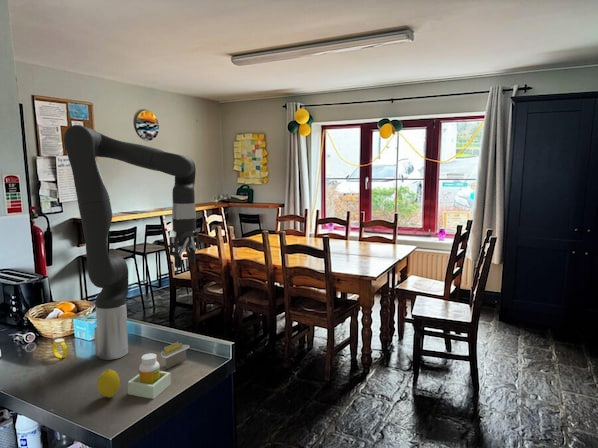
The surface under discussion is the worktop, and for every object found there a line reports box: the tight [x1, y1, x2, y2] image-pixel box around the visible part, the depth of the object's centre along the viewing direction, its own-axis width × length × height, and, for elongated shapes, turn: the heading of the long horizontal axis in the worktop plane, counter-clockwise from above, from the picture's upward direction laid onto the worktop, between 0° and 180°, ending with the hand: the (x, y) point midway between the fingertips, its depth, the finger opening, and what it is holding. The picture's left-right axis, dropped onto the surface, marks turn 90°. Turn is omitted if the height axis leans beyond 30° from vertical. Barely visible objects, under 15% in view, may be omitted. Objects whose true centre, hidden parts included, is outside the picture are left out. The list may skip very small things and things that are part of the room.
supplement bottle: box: [138, 352, 161, 385], centre depth 115 cm, size 5×5×10 cm
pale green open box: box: [126, 370, 172, 400], centre depth 116 cm, size 8×8×4 cm
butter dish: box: [160, 341, 190, 370], centre depth 131 cm, size 12×18×7 cm, turn 147°
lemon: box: [96, 368, 121, 399], centre depth 111 cm, size 6×6×8 cm
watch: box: [51, 338, 69, 360], centre depth 135 cm, size 6×3×6 cm, turn 64°
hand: (185, 264), depth 138 cm, fingers open, 8 cm apart
